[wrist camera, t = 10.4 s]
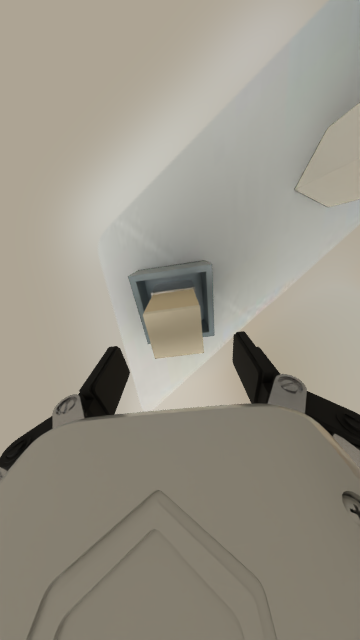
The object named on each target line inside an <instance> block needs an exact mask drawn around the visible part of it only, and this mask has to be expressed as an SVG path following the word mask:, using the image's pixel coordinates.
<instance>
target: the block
mask: <svg viewBox="0 0 360 640" xmlns="http://www.w3.org/2000/svg"><path fill="white" fill-rule="evenodd" d="M190 289H193V290H194V292H195V287H194V284H193V282H192V280H185V281H178V282H171V283H164V284H157V285H155V286H154V288H153V290H152V292H151V297H152V296H153V295H155V294H162V293H169V292H176V291H183V290H190Z"/></svg>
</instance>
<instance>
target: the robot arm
mask: <svg viewBox="0 0 360 640" xmlns="http://www.w3.org/2000/svg"><path fill="white" fill-rule="evenodd" d="M233 364H234V366H235V369H236V371H237V373H238V375H239V377H240V379H241V382H242V384H243V386H244V388H245V390H246V393H247V395H248V397H249V399H250V401H251V403H252V404H234V405H220V406H207V407H196V408H183V409H171V410H160V411H148V412H137V413H127V414H116V415H114V414H115V411H116V408H117V406H118V403H119V401H120V398H121V395H122V393H123V390H124V388H125V385H126V382H127V380H128V377H129V373H130V371H129V368H128V366H127V364H126V361H125V359H124V357H123V354H122V352H121V350H120V348H118V347H117V346H114V347H109V348H108V349H107V351H106V352H105V354H104V355H103V357H102V358H101V360H100V361H99V363H98V364H97V365H96V367H95V368H94V370H93V371H92V373H91V374H90V376H89V377H88V379H87V380H86V382H85V383H84V384H83V386H82V387H81V389H80V393H79V394H78V395H77V394H74V395H70V396H68V397H66V398H64V399H63V400H62V401H60V403H58V404H57V406H56V407H55V408H54V410H53V416H51V417H50V418H48V419H47V420H45V421H44V422H42V423H41V424H39V425H38V426H36V427H35V428H33V429H32V430H30V431H29V432H27V433H26V434H24V435H23V436H21V437H20V438H18V439H17V440H16V441H14V442H13V443H12V444H11V445H10V446H9V447H8V448H7V449H6V450H5V451H4V452H3V454H2V456H1V457H0V640H360V415H359V414H357V413H355V412H353V411H351V410H349V409H347V408H344V407H342V406H340V405H337V404H335V403H333V402H331V401H328V400H326V399H324V398H322V397H319V396H317V395H315V394H313V393H310V392H308V391H307V389H306V387H305V385H304V384H303V383H302V382H301V381H300V380H299V379H297V378H295V377H293V376H291V375H287V374H280V373H279V372H278V370H277V369H276V368H275V367H274V365H273V364H272V363H271V362H270V360H269V359H268V358H267V356H266V355H265V354H264V353H263V351H262V350H261V349H260V348H259V347H256V346H255V345H254V343H253V342H252V341H251V340H250V338H249V337H248V336H247V334H246V333H245V332H237V333H236V334H234V343H233Z"/></svg>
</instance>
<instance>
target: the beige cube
mask: <svg viewBox="0 0 360 640" xmlns="http://www.w3.org/2000/svg"><path fill="white" fill-rule="evenodd" d="M143 318H144V322H145V325H146V329H147V332H148V336H149V339H150V343H151V346H152V349H153V353H154V356H155V359H157V358H165V357H174V356H182V355H190V354H199V353H204V348H203V336H202V323H201V311H200V305H199V303H198V300H197V298H196V295H195V292H194V290H193V289H190V290H183V291H176V292H169V293H162V294H155V295H153V296H152V298H151V300H150V301H149V303H148V305H147V307H146V309H145V311H144V313H143Z"/></svg>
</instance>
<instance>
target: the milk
mask: <svg viewBox="0 0 360 640" xmlns="http://www.w3.org/2000/svg"><path fill="white" fill-rule="evenodd" d="M295 190H296V191H298V192H300V193H302V194H304V195H306V196H308V197H310V198H311V199H313V200H315V201H317V202H319V203H321V204H323V205H325V206H327V207H332V206H336V205H340V204H343V203H347V202H351V201H355V200H359V199H360V103H359V104H357V105H356V106H355V107H354V108H352V109H351V110H350V111H349V112H347V113H346V114H345V115H343V116H342V117H341V118H340V119H338V120H337V121H336V122H335V123H333V124H332V125H331V126H330V127H329V128H328V129H327V130H326V132H325V134H324V136H323V138H322V140H321V142H320V143H319V145H318V147H317V149H316V151H315V153H314V155H313V156H312V158H311V160H310V162H309V164H308V166H307V168H306V169H305V171H304V173H303V175H302V177H301V179H300V181H299V182H298V184H297V186H296V188H295Z"/></svg>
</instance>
